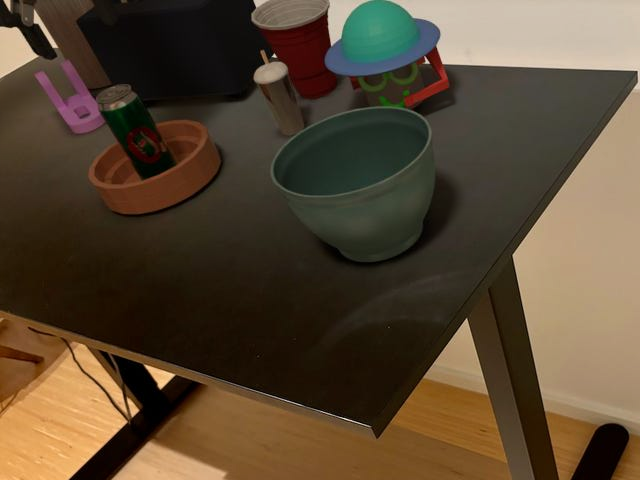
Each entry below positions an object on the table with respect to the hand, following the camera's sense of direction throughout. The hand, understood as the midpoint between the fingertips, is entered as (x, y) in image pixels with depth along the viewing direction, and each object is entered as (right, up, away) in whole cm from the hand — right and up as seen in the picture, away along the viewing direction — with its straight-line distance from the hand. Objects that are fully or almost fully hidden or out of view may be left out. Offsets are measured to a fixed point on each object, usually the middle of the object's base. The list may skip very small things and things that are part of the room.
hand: (82, 40), depth 82 cm
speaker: (+1, +7, +33) cm, 34 cm away
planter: (-19, +13, +44) cm, 50 cm away
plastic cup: (+22, +3, +24) cm, 33 cm away
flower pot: (+35, -23, -4) cm, 42 cm away
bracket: (-18, +3, +34) cm, 39 cm away
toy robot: (+35, -3, +15) cm, 38 cm away
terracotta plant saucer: (+4, -13, +14) cm, 19 cm away
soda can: (+3, -12, +13) cm, 19 cm away
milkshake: (+20, -5, +17) cm, 27 cm away
